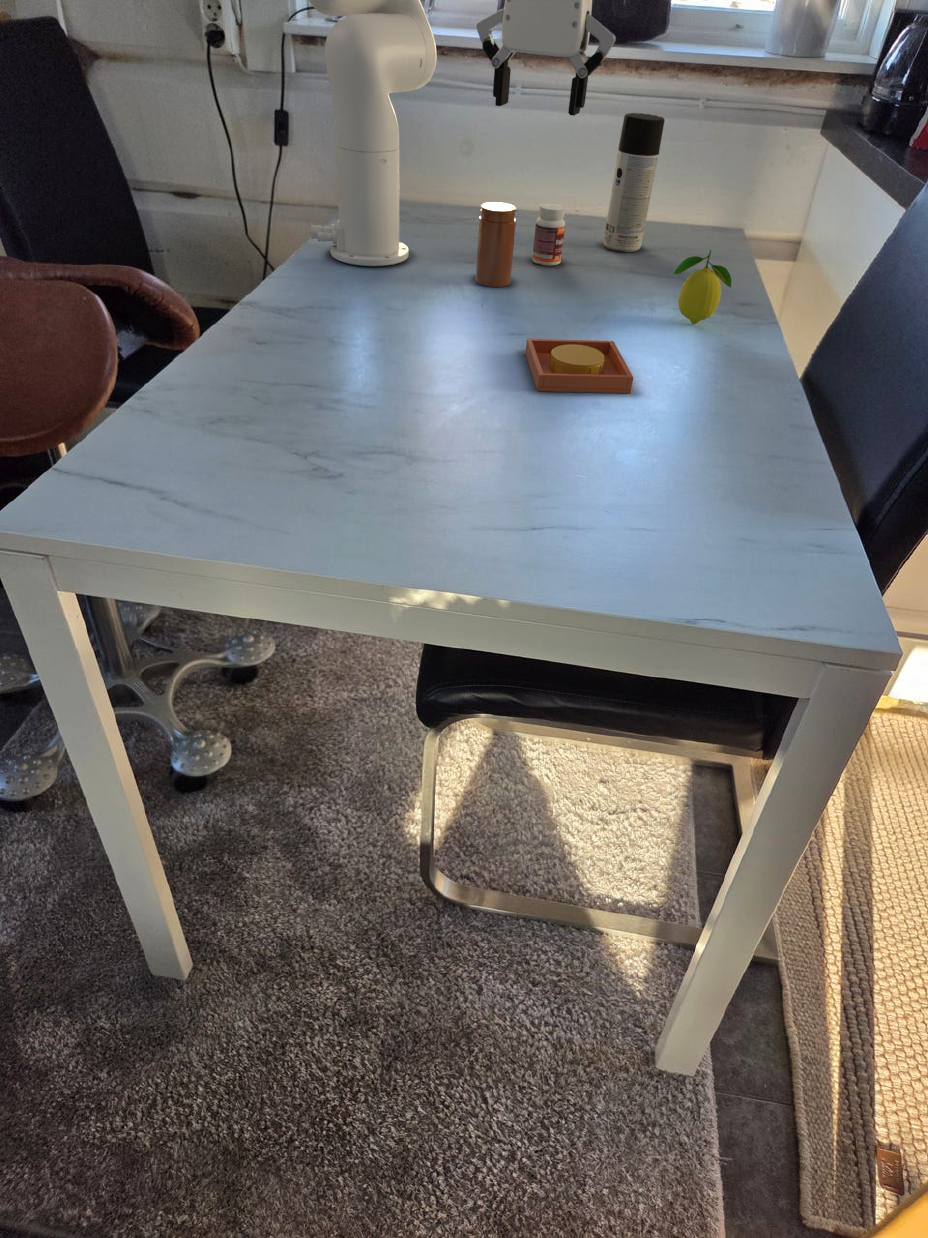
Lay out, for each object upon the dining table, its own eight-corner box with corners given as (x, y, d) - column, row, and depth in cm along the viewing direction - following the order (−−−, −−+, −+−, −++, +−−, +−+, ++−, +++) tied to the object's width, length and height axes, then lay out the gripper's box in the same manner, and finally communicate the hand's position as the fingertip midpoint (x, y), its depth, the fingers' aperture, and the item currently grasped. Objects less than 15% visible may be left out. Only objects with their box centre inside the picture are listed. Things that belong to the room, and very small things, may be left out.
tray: (537, 391, 97) (539, 374, 96) (525, 353, 106) (526, 338, 104) (630, 393, 98) (633, 377, 97) (611, 356, 107) (613, 340, 105)
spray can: (615, 239, 149) (636, 110, 136) (648, 248, 146) (672, 117, 133) (595, 246, 145) (615, 114, 132) (629, 255, 142) (652, 120, 129)
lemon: (662, 323, 117) (678, 249, 110) (678, 312, 121) (694, 240, 114) (707, 335, 114) (725, 260, 108) (722, 324, 118) (741, 250, 112)
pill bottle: (559, 267, 134) (565, 211, 129) (530, 264, 135) (535, 208, 130) (562, 259, 138) (569, 204, 133) (534, 255, 139) (539, 201, 133)
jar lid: (607, 364, 103) (609, 350, 102) (595, 383, 98) (597, 368, 97) (557, 354, 105) (559, 340, 103) (543, 373, 100) (545, 358, 99)
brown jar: (476, 286, 125) (481, 210, 118) (474, 275, 129) (478, 200, 122) (512, 287, 125) (519, 211, 119) (508, 276, 129) (514, 202, 123)
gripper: (635, -60, 95) (610, 113, 106) (494, -70, 99) (483, 97, 110) (621, -61, 89) (596, 121, 100) (472, -72, 94) (463, 104, 104)
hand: (537, 109), depth 105 cm, fingers open, 9 cm apart
